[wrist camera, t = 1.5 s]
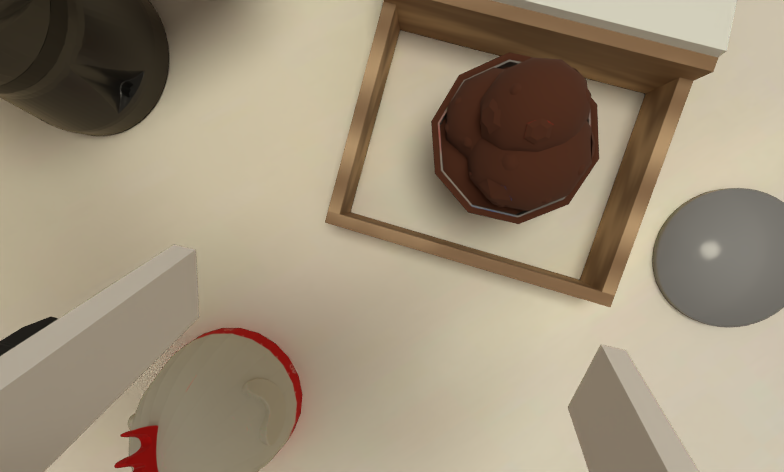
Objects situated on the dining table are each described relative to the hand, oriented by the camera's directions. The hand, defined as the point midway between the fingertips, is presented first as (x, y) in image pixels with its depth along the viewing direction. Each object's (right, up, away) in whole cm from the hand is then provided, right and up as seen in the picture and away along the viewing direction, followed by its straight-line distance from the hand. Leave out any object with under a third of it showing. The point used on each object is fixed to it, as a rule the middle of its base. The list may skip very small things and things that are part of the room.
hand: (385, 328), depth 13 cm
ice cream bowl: (+9, +10, +22) cm, 26 cm away
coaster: (+29, +1, +21) cm, 36 cm away
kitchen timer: (-16, -13, +27) cm, 34 cm away
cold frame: (+9, +10, +22) cm, 26 cm away
